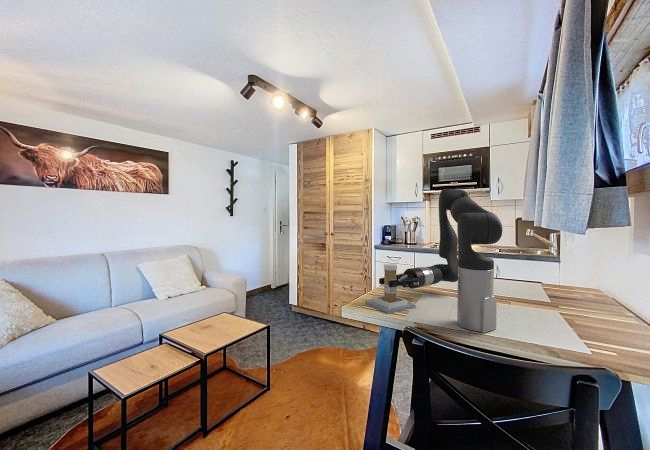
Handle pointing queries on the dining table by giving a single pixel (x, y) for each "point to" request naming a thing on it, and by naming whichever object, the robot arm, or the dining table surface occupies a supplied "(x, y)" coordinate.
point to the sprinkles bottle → (388, 276)
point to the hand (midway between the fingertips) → (384, 282)
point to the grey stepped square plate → (390, 304)
